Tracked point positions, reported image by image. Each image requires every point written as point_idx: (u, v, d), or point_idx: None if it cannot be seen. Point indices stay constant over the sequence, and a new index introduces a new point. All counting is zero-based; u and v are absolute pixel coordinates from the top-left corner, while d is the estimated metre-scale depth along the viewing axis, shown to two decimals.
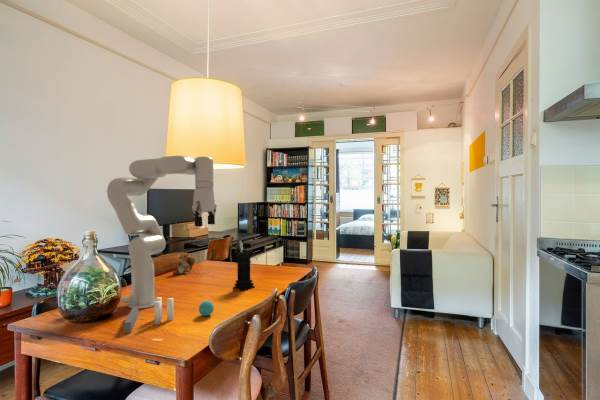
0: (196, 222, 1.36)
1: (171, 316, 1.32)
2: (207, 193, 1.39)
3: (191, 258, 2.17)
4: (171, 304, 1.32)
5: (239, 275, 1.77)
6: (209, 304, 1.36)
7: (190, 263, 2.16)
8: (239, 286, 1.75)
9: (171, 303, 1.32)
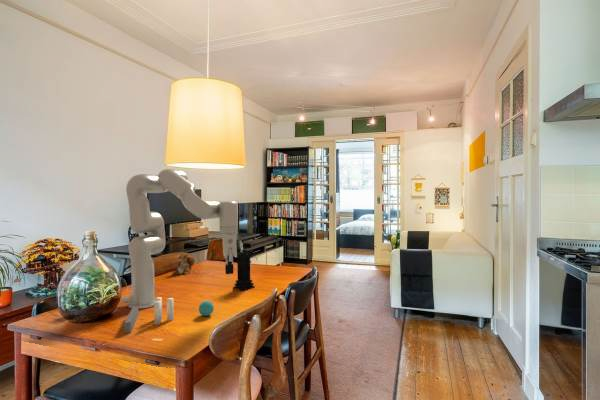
0: None
1: (171, 316, 1.32)
2: None
3: (191, 258, 2.17)
4: (171, 304, 1.32)
5: (239, 275, 1.77)
6: (209, 304, 1.36)
7: (190, 263, 2.16)
8: (239, 286, 1.75)
9: (171, 303, 1.32)
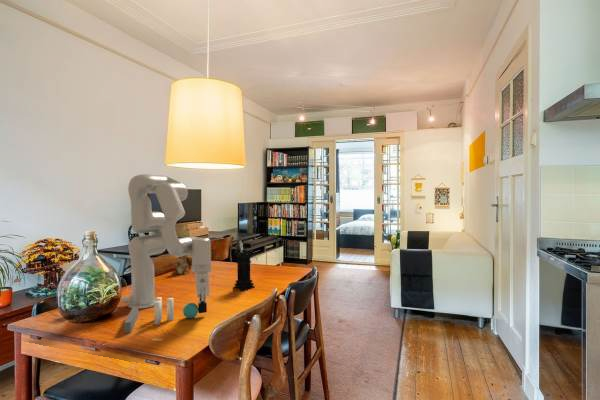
0: None
1: (171, 316, 1.32)
2: None
3: (190, 258, 2.17)
4: (171, 304, 1.32)
5: (239, 275, 1.77)
6: (185, 311, 1.32)
7: (189, 263, 2.16)
8: (239, 286, 1.75)
9: (171, 303, 1.32)
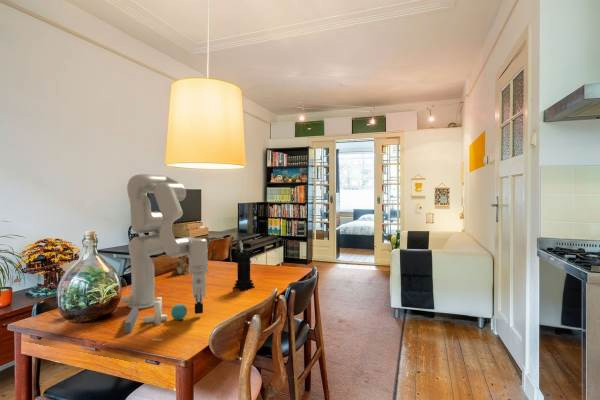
0: None
1: (162, 317, 1.31)
2: None
3: None
4: (149, 318, 1.29)
5: (239, 275, 1.77)
6: (177, 319, 1.31)
7: None
8: (239, 286, 1.75)
9: (147, 318, 1.29)
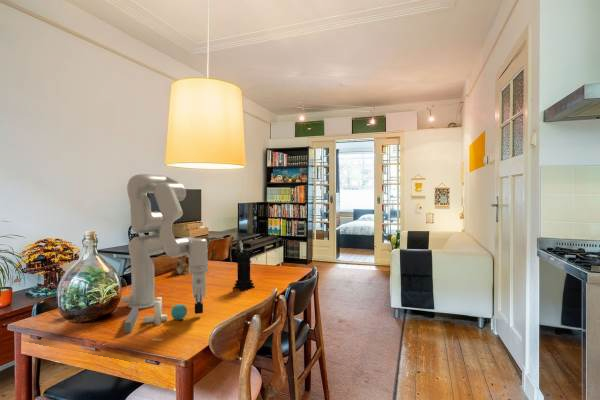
0: None
1: (162, 317, 1.31)
2: None
3: None
4: (149, 318, 1.29)
5: (239, 275, 1.77)
6: (177, 319, 1.31)
7: None
8: (239, 286, 1.75)
9: (147, 318, 1.29)
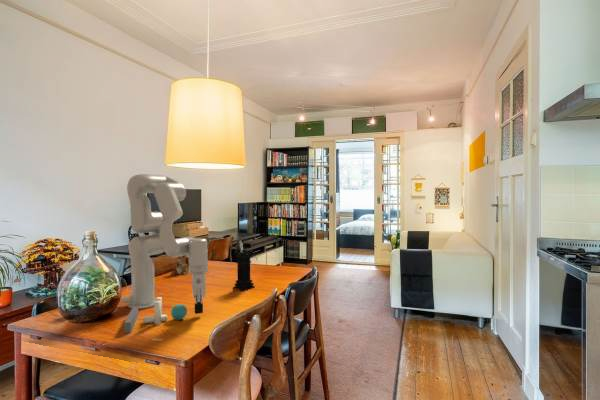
0: None
1: (162, 318, 1.31)
2: None
3: None
4: (148, 319, 1.29)
5: (239, 275, 1.77)
6: (177, 319, 1.31)
7: (188, 263, 2.16)
8: (239, 286, 1.75)
9: (147, 319, 1.29)
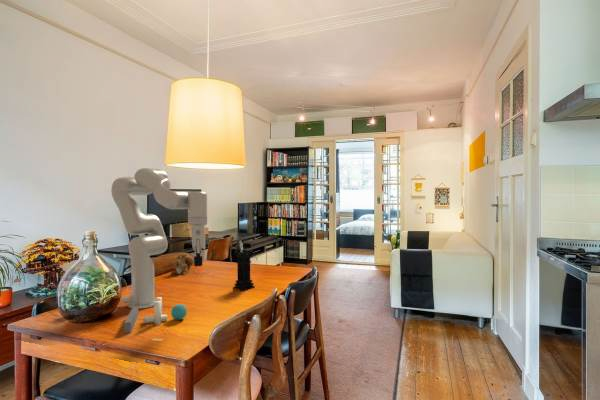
0: None
1: (162, 317, 1.31)
2: None
3: (189, 258, 2.16)
4: (149, 319, 1.29)
5: (239, 275, 1.77)
6: (177, 319, 1.31)
7: (188, 263, 2.15)
8: (239, 286, 1.75)
9: (147, 319, 1.29)
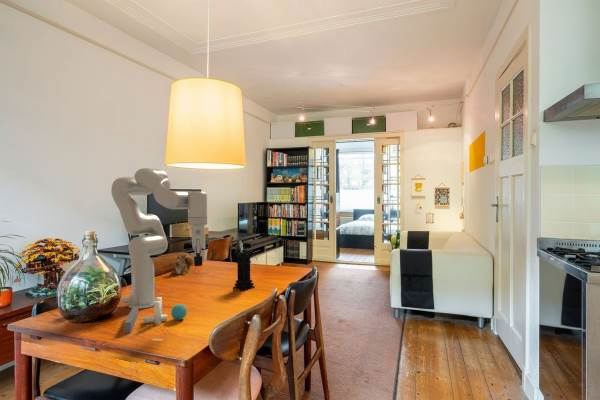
0: None
1: (162, 317, 1.31)
2: None
3: (189, 258, 2.16)
4: (149, 319, 1.29)
5: (239, 275, 1.77)
6: (177, 319, 1.31)
7: (188, 263, 2.15)
8: (239, 286, 1.75)
9: (147, 319, 1.29)
